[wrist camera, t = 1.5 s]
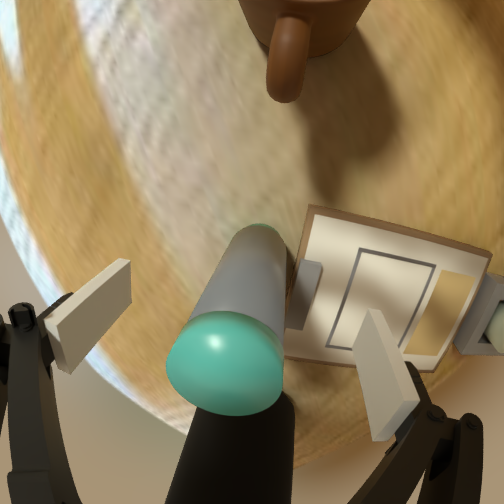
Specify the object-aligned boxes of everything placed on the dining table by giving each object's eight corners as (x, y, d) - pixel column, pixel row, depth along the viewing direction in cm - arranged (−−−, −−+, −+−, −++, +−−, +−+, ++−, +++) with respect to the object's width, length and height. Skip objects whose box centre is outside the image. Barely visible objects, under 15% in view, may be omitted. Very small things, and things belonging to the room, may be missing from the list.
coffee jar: (194, 414, 32) (153, 538, 15) (212, 360, 28) (156, 525, 11) (275, 436, 32) (261, 560, 15) (310, 388, 28) (310, 551, 11)
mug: (336, 126, 19) (373, 115, 10) (230, 108, 19) (188, 85, 10) (353, -8, 14) (383, -73, 5) (255, -23, 15) (236, -94, 6)
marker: (236, 214, 22) (164, 322, 9) (292, 225, 22) (296, 350, 9) (228, 265, 24) (167, 400, 11) (281, 276, 23) (269, 423, 10)
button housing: (484, 271, 21) (497, 283, 19) (525, 282, 20) (537, 293, 18) (451, 339, 24) (460, 354, 22) (495, 342, 24) (504, 355, 21)
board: (308, 203, 21) (310, 208, 20) (488, 251, 20) (496, 257, 19) (272, 350, 26) (271, 361, 25) (431, 368, 25) (435, 377, 24)
